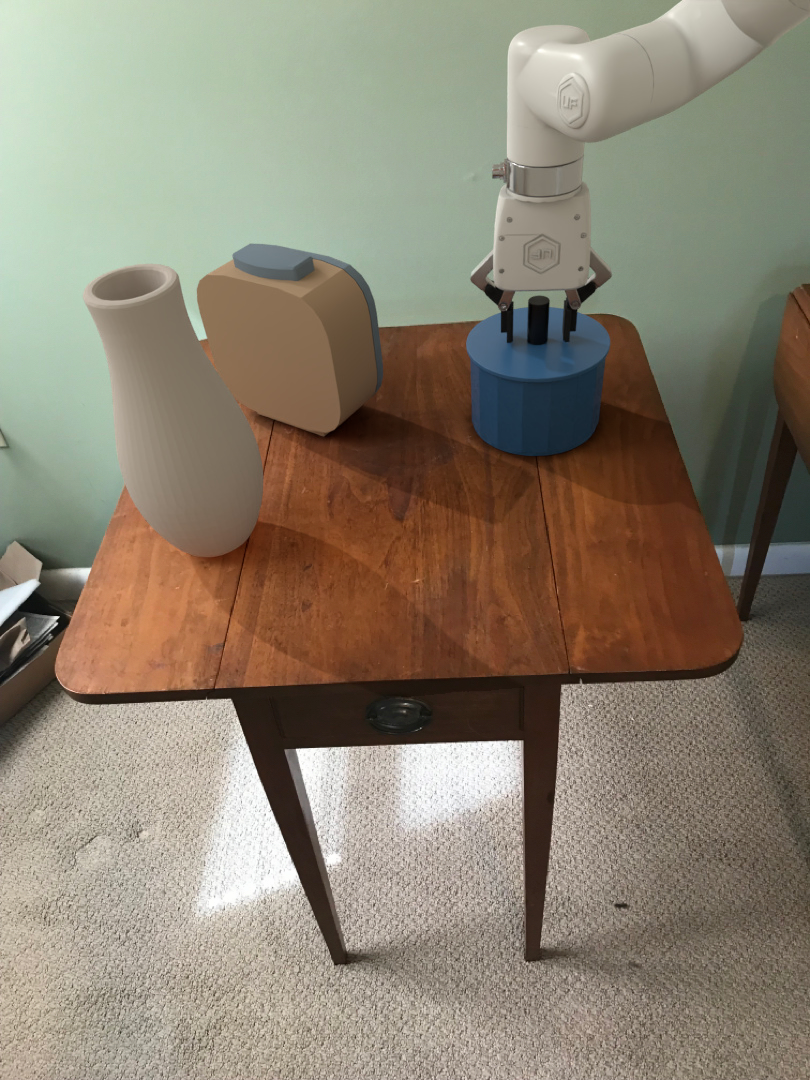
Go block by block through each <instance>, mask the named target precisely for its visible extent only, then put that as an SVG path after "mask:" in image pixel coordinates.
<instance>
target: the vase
mask: <svg viewBox="0 0 810 1080" xmlns="http://www.w3.org/2000/svg"><path fill="white" fill-rule="evenodd" d="M182 290H183V289H182V285H181V280H180V276H179V273H178V272H177V271H175V269H174V268H172V267H170V266H168V265H165V264H161V263H137V264H132V265H126V266H123V267H119V268H116V269H112V270H110V271H107V272H105V273H102V274H101V275H99V276H97V277H95V278H94V279H92V280H91V281H90V282H89V283H87V284H86V286H85V288H84V289H83V293H82V299H83V302H84V304H85V306H86V308H87V310H88V312H89V314H90V316H91V318H92V320H93V322H94V325H95V327H96V329H97V332H98V334H99V337H100V340H101V343H102V347H103V349H104V353H105V357H106V358H105V359H106V362H107V366H108V373H109V380H110V386H111V387H110V388H111V396H112V412H113V413H112V414H113V428H114V440H115V449H116V457H117V461H118V465H119V469H120V474H121V477H122V479H123V482H124V485H125V488H126V489H127V490H126V491H127V492H128V495H129V497H130V499H131V501H132V502H133V504H134V506H135V508H136V509H137V510H138V512H139V513H140V515H141V516H142V517H143V519H144V520H145V521H146V522H147V523H148V525H149V526H150V528H152V529H153V530H154V531H155V532H156V533H157V534H158V535H159V536H160V537H161V538H163V539H164V540H165V541H166V542H167V543H169V544H170V545H172V546H173V547H175V548H176V549H177V550H179V551H181V552H183V553H186V554H188V555H191V556H194V557H198V558H214V557H220V556H223V555H226V554H228V553H231V552H233V551H235V550H236V549H238V548H240V547H241V546H243V544H244V543H245V542H247V540H248V539H249V538H250V536H251V534H252V533H253V531H254V530H255V527H256V525H257V522H258V519H259V516H260V512H261V507H262V502H263V495H264V467H263V461H262V456H261V451H260V447H259V444H258V441H257V439H256V436H255V433H254V431H253V429H252V427H251V424H250V422H249V420H248V418H247V416H246V415H245V413H244V411H243V410H242V407H241V406H240V405H239V402H238V401H237V400H236V399H235V398H234V397H233V395H232V393H231V392H230V390H229V389H228V387H227V386H226V384H225V383H224V381H223V380H222V378H221V377H220V375H219V374H218V372H217V369H216V367H215V365H214V364H213V363H212V361H211V360H210V358H209V356H208V355H207V353H206V351H205V349H204V348H203V346H202V344H201V341H200V340H199V337H198V336H197V333H196V331H195V329H194V326H193V324H192V321H191V318H190V316H189V313H188V309H187V307H186V303H185V299H184V298H185V297H184V295H183V291H182Z"/></svg>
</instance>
